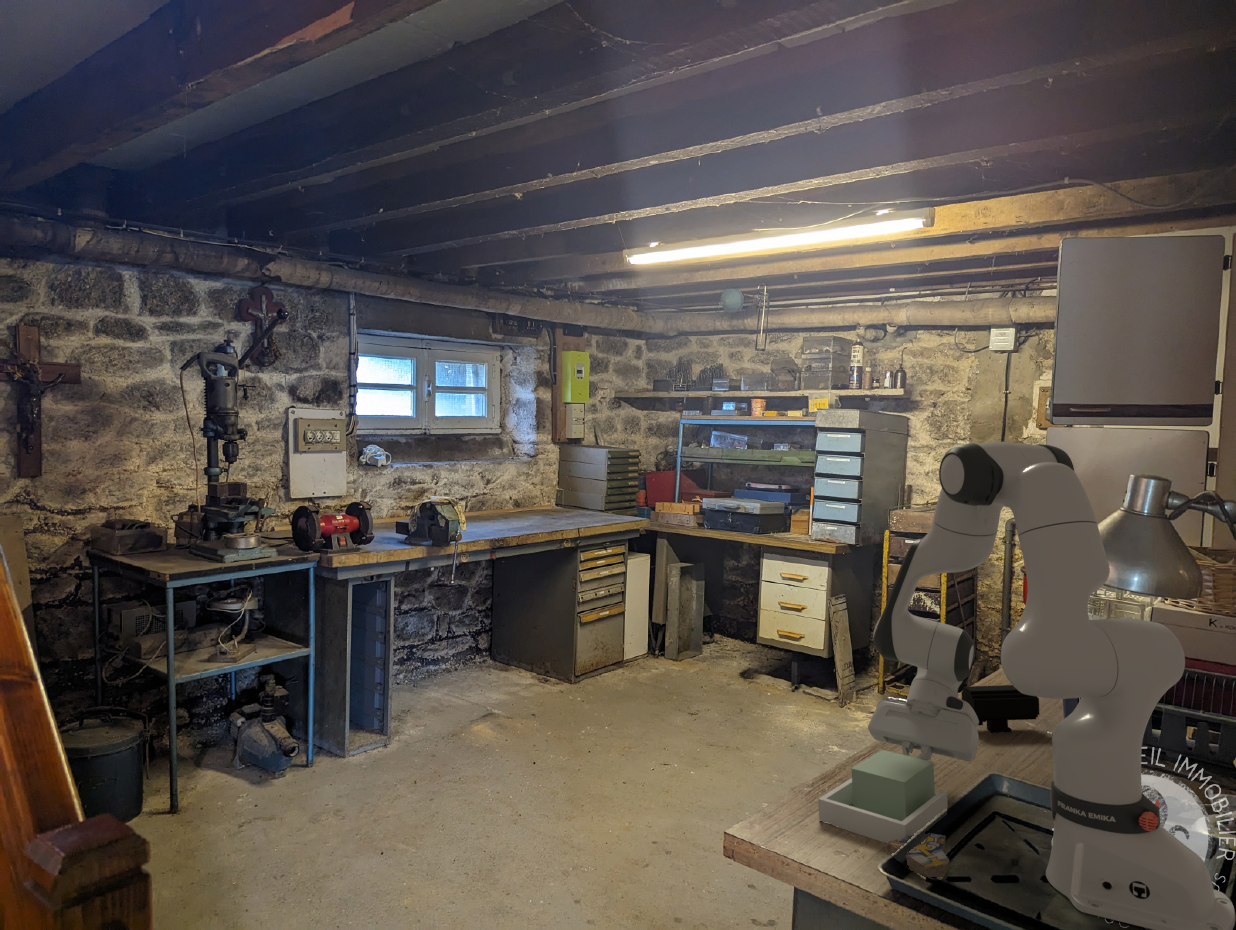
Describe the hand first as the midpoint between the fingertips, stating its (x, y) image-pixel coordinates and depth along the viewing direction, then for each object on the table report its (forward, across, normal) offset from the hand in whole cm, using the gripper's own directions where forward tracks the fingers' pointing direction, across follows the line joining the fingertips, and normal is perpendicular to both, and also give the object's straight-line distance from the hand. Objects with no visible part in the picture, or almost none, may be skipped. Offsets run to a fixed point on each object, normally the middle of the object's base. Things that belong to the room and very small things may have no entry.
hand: (910, 768), depth 146 cm
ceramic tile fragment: (+20, +12, -12) cm, 26 cm away
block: (+8, 0, -1) cm, 9 cm away
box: (+12, 0, -4) cm, 13 cm away
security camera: (-29, -1, +37) cm, 47 cm away
